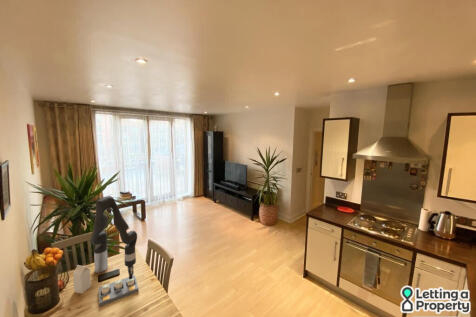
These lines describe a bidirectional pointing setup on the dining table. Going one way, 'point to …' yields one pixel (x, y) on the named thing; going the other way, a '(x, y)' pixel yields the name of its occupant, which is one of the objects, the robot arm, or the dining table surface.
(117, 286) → the button
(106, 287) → the button
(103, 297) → the button board
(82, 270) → the milk carton
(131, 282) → the button
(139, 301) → the dining table surface
